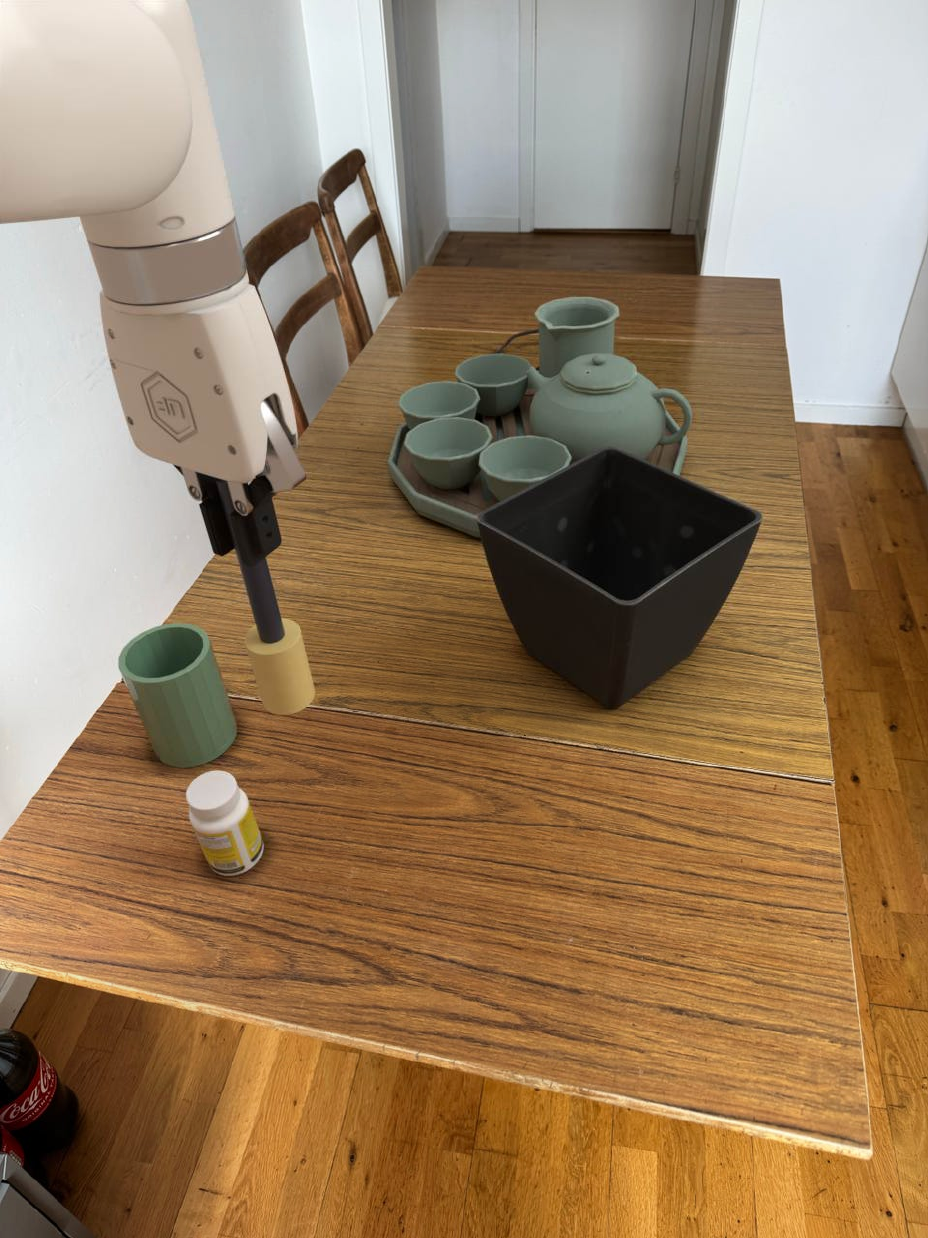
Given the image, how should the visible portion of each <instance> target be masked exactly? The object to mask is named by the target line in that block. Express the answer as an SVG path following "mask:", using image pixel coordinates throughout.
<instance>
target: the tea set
mask: <svg viewBox="0 0 928 1238" xmlns="http://www.w3.org/2000/svg"><path fill="white" fill-rule="evenodd" d="M619 308H620V307H619V306H618V305H616V304H614V303H613V302H611V301H610V300H608V299H603V298H597V297H592V296H569V297H562V298H557V299H552V300H550V301H548V302H546V303H543V304H541V305H539V307H538V308H537V309H536V310H535V312H534V313H533V314H534V316H535V318H536V320H537V321H538V329H539V333H538V357H539V358H538V367H539V370H538V371H537V370H536V369H535V368H536V367H534V365H531V363H530V361H529V360H528V359H525V358H524V357H521V356H519V355H517V354H509V353H508V354H507V353H501V352H500V353H498V354H495V353H488V354H487V353H486V354H480V355H477V356H475V357H474V356H473V357H471V358H467V359H465V360H464V361H462V362H461V363H460V364H458V365H457V366H456V367H455V371H454V377H455V379H456V380H457V382H456V381H450V380H445V381H430V382H427V383H423V384H420V385H416V386H413V387H410V388H409V389H408V390H407V391H405V392H404V393H402V394H400V398H399V399H398V403H397V406H398V408H399V409H400V411H401V412H402V415H403V417H404V422H403V423H402V424H400V425H399V426H398V427H397V429H396V433H395V436H394V438H393V439H394V440H393V443H392V447H391V449H390V453H389V457H388V460H387V468H388V474H389V476H390V477H391V479H392V481H393V482H394V483H395V485H396V486H397V487H398V489H399V490H400V492H401V493H402V494H403V496H405V497H404V498H405V499H406V500H407V501H408V503H410V505H411V506H412V507H413V509H414V510H415V511H416V513H417V514H418V515H419V516H422V517H424V518H428V519H430V520H432V521H434V522H437V523H440V524H442V525H444V526H446V527H450V528H452V529H455V530H457V531H460V532H462V533H465V534H467V535H469V536H471V537H474V538H481V536H480V532H479V528H478V523H477V519H476V518H477V515H478V514H479V513H481V512H482V511H484V510H486V509H488V508H490V507H491V506H493V505H495V504H497V503H499V502H501V501H503V500H505V499H507V498H508V497H510V496H512V495H514V494H516V493H518V492H520V491H522V490H524V489H525V488H527V487H529V486H531V485H533V484H535V483H537V482H539V481H541V480H543V479H545V478H546V477H548V476H550V475H552V474H554V473H556V472H558V471H560V470H561V469H563V468H565V467H567V466H569V465H571V464H573V463H575V462H576V461H578V460H580V459H582V458H584V457H586V456H588V455H589V454H591V453H593V452H595V451H597V450H599V449H601V448H604V447H609V446H611V447H616V448H619V449H621V450H623V451H626V452H628V453H630V454H632V455H634V456H637V457H639V458H641V459H643V460H646V461H648V462H650V463H652V464H655V465H657V466H659V467H661V468H663V469H666V470H668V471H670V472H672V473H675V474H677V475H679V476H681V473H682V468H683V466H684V462H685V459H686V454H687V451H688V443H689V437H687V434H688V432H689V430H690V428H691V426H692V421H693V411H692V407H691V404H690V402H689V401H688V400H687V398H686V397H685V395H683V394H681V393H680V392H679V391H677V390H676V389H672V388H666V387H662V388H660V389H659V387H658V386H656V384H654V383H653V382H652V381H651V380H649V379H648V378H647V377H645V376H644V375H643V374H642V373H640V372H638V371H637V366H636V365H635V364H634V363H633V362H631V361H630V360H629V359H627V358H626V357H623V356H621V355H616V354H614V353H615V352H614V351H615V350H614V349H615V348H614V347H615V327H616V319H617V318H618V317H620V309H619ZM664 398H666V399H671V400H672V401H673V402H675V403H676V404H677V405H678V406H679V407H680V408H681V410H682V411H681V412H682V414H683V423H682V425H681V427H680V426H679V425H678V423H677V422H676V421H675V420H674V418H673V417H672V416H671V415H670V413H669V412H668V411H667V409H666V406H665V401H664Z"/></svg>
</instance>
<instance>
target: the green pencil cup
mask: <svg viewBox="0 0 928 1238" xmlns="http://www.w3.org/2000/svg"><path fill="white" fill-rule="evenodd" d="M212 645H213V644H212V641H211V639H210V636H209V634H208V633H207V632H206V631H205V630H204V629H202V628H201V627H199V626H197V625H195V624H191V623H186V622H173V623H165V624H161V625H157V626H154V627H151V628H149V629H147V630H144V631H142V632H141V633H139V634H137V635H136V636H135V637H133V638H132V639H130V640H129V642H127V643H126V645H124V647H123V648H122V649H121V652H120V654H119V656H118V657H117V658H118V660H117V661H118V662H117V667H118V670H119V673H120V675H121V677H122V680H123V682H124V685H125V686H126V689H127V692H128V693H129V694H128V695H129V696H130V698H131V701H132V703H133V705H134V708H135V711H136V712H137V715H138V717H139V719H140V722H141V724H142V727H143V729H144V732H145V734H146V736H147V738H148V741H149V743H150V745H151V748H152V749H153V751H154V752H153V753H154V754H155V756H156V757H157V759H158V760H159V761H160V762H162V763H164V764H165V765H167V766H169V767H173V768H180V769H182V768H183V769H187V768H188V769H189V768H195V767H199V766H202V765H205V764H208V763H210V762H212V761H214V760H216V759H218V758H219V757H221V756H222V755H223V754H224V753H225V752H227V751H228V749H229V748H230V747H231V746H232V745H233V743H234V741H235V739H236V738H237V733H238V723H237V720H236V715H235V712H234V709H233V707H232V703H231V701H230V697H229V694H228V691H227V688H226V684H225V682H224V679H223V675H222V673H221V670H220V666H219V663H218V660H217V656H216V655H215V652H214V649H213V646H212Z"/></svg>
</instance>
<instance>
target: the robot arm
mask: <svg viewBox="0 0 928 1238" xmlns="http://www.w3.org/2000/svg"><path fill="white" fill-rule="evenodd" d="M193 21H194V20H193V17H192V14H191V10H190V6H189V4H188V2H187V0H0V225H5V224H17V223H18V224H19V223H29V222H40V221H51V220H60V219H71V218H79V219H80V223H81V226H82V228H83V232H84V235H85V238H86V242H87V245H88V248H89V250H90V254H91V257H92V261H93V264H94V268H95V270H96V273H97V277H98V279H99V282H100V286H101V288H102V289H101V291H100V292H99V305H100V306H99V307H100V317H101V322H102V323H101V324H102V330H103V336H104V337H103V338H104V341H105V346H106V351H107V355H108V360H109V364H110V368H111V369H110V370H111V372H112V376H113V380H114V384H115V388H116V391H117V395H118V398H119V403H120V406H121V410H122V413H123V416H124V418H125V422H126V425H127V428H128V431H129V435H130V437H131V439H132V441H133V443H134V446H135V447H136V448H137V449H138V450H139V452H141V453H143V454H145V455H146V456H148V457H150V458H152V459H155V460H157V461H160V462H164V463H167V464H170V465H172V466H173V467H174V468H175V469H176V470H177V471H178V472H179V473H180V474H181V476H183V479H184V483H185V485H186V488H187V491H188V494H189V496H190V497H191V498H192V499H193V500H195V501H196V502H200V503H199V504H198V506H199V509H200V512H201V517H202V519H203V523H204V527H205V530H206V533H207V537H208V539H209V543H210V547H211V549H212V553H213V554H214V555H217V556H219V557H224V556H227V555H228V554H229V553H230V552H232V551H233V550H235V548H234V545H233V541H232V538H231V534H230V530H229V527H228V523H227V520H226V516H225V513H224V509H223V505H222V502H221V498H220V495H219V491H218V488H217V484H216V480H215V478H219V479H222V480H226V481H227V483H228V487H229V490H230V494H231V498H232V502H233V505H234V508H235V510H234V511H233V512H232V513H231V514H229V515H230V520H231V524H232V528H233V531H234V535H235V538H236V542H237V546H238V549H239V553H240V556H241V560H242V562H243V564H244V565H247V566H250V567H253V566H255V565H256V564H257V563H259V562H260V561H261V560H262V559H264V558H265V557H266V558H267V557H268V556H269V555H270V554H272V553H273V552H274V551H275V550H277V549H278V548H279V547H280V546H281V545H282V542H283V539H282V535H281V530H280V526H279V522H278V517H277V513H276V509H275V505H274V501H273V497H275V496H277V494H279V493H284V492H289V491H292V490H294V489H295V488H297V487H298V486H300V485H301V484H302V483H303V482H305V481H306V480H307V473H306V471H305V469H304V466H303V465H302V464H301V462H300V459H299V457H298V455H297V453H296V450H297V449H298V445H299V443H298V442H299V439H298V438H299V437H298V435H299V434H298V426H297V419H296V414H295V407H294V404H293V400H292V396H291V391H290V387H289V384H288V380H287V376H286V373H285V369H284V368H285V367H284V365H283V362H282V357H281V355H280V351H279V348H278V346H277V342H276V339H275V336H274V333H273V330H272V327H271V324H270V322H269V319H268V316H267V314H266V311H265V308H264V305H263V304H262V300H261V298H260V296H259V294H258V291H257V289H256V286H255V285H253V284H251V283H250V278H249V274H248V268H247V264H246V263H247V262H246V259H245V255H244V250H243V245H242V240H241V235H240V230H239V226H238V221H237V217H236V215H235V210H234V206H233V201H232V196H231V191H230V185H229V182H228V177H227V173H226V167H225V164H224V163H225V162H224V158H223V153H222V149H221V145H220V139H219V135H218V130H217V125H216V122H215V116H214V112H213V108H212V103H211V98H210V94H209V89H208V84H207V80H206V76H205V70H204V66H203V61H202V56H201V53H200V52H201V51H200V48H199V43H198V40H197V34H196V29H195V26H194V22H193Z"/></svg>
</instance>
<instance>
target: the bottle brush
mask: <svg viewBox="0 0 928 1238" xmlns="http://www.w3.org/2000/svg"><path fill="white" fill-rule="evenodd" d="M215 480H216V484H217V488H218V491H219V495H220V498H221V502H222V505H223V509H224V513H225V516H226V520H227V523H228V527H229V530H230V534H231V538H232V541H233V545H234V552H235V554H236V558H237V562H238V566H239V570H240V573H241V577H242V580H243V584H244V588H245V592H246V594H247V598H248V601H249V605H250V609H251V612H252V616H253V619H254V623H255V625H253V626H251V628H249V630H248V631H247V632H246V633H245V636H244V640H243V642H244V647H245V650H246V653H247V658H248V660H249V663H250V666H251V670H252V673H253V676H254V680H255V683H256V687H257V690H258V692H259V697H260V700H261V704H262V706H263V708H264V709H265V710H266V711H267V712H269V713H270V714H273V715H278V716H288V715H293V714H296V713H299V712H301V711H303V710H304V709H306V708H307V707H309V705H310V704H311V703H312V702H313V700H314V698H315V696H316V689H315V684H314V680H313V675H312V671H311V668H310V664H309V663H310V662H309V660H308V656H307V651H306V647H305V643H304V638H303V634H302V630H301V627H300V625H299V624H298V623H297V622H295V621H294V620H292V619H290V618H284V617H282V614H281V611H280V607H279V604H278V600H277V599H278V598H277V595H276V591H275V588H274V584H273V580H272V576H271V572H270V568H269V564H268V560H267V556H266V557H265V558H264V559H262V560H261V561H260V562H259V563H257V564H256V565H255V566H253V567H250V566H247V565H244V564H243V562H242V560H241V556H240V553H239V549H238V546H237V542H236V538H235V535H234V531H233V528H232V524H231V520H230V515H229V514H231V513H232V512H233V511H234V510H235V508H234V505H233V502H232V498H231V494H230V490H229V487H228V483H227V481H226V480H222V479H219V478H215Z"/></svg>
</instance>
